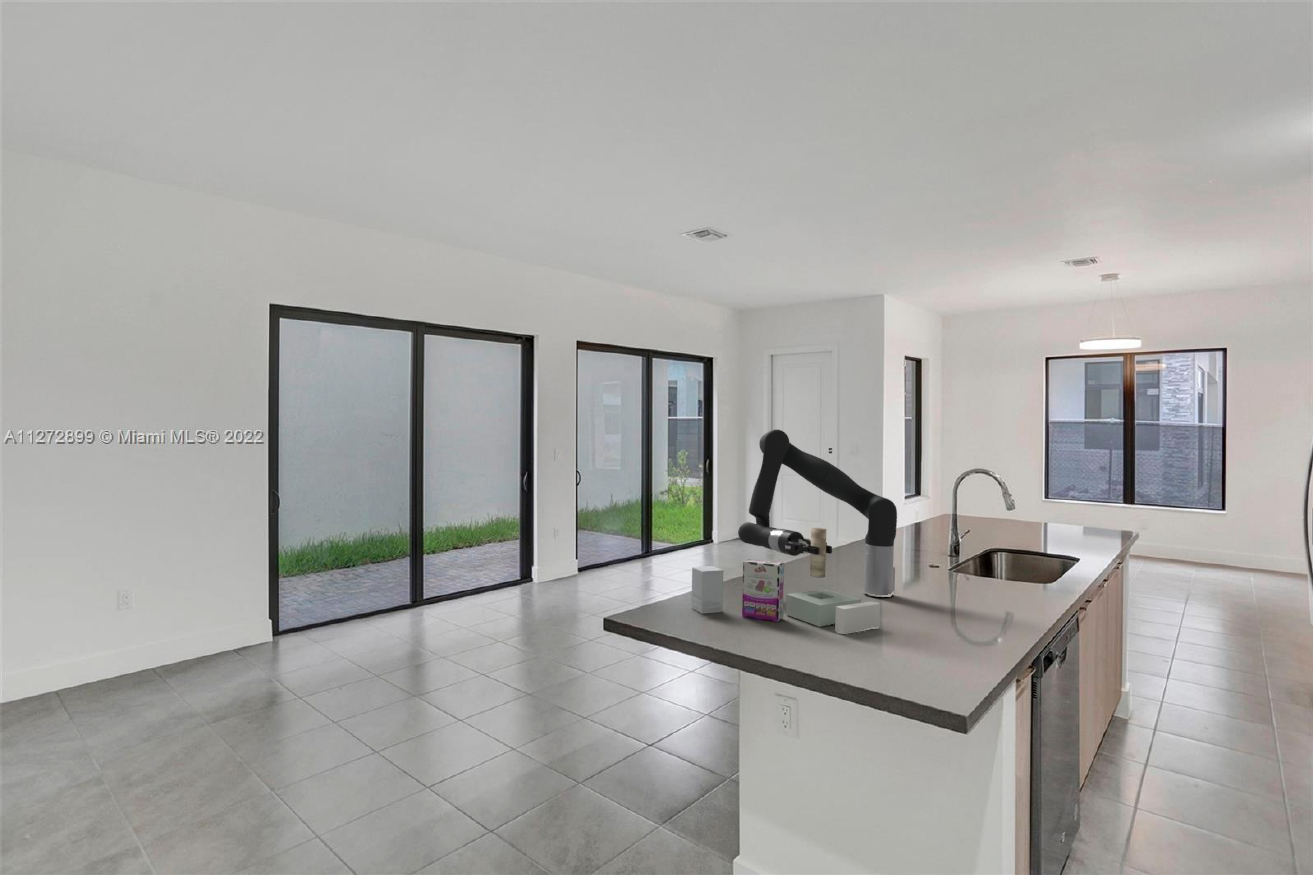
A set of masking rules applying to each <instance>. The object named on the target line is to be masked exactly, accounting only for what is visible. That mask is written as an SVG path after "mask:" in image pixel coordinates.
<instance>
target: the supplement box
mask: <svg viewBox="0 0 1313 875" xmlns="http://www.w3.org/2000/svg"><path fill="white" fill-rule="evenodd" d="M690 604H691V606H690V607H691V609H693V610H695V611H696V612H697V613H700V614H715V613H722V612H723V610H724V608H723V607H724V570H723V569H721V568H718V567H716V566H714V565H707V566H693V567H692V568H691V603H690Z"/></svg>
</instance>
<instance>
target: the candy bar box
mask: <svg viewBox="0 0 1313 875" xmlns="http://www.w3.org/2000/svg"><path fill="white" fill-rule="evenodd" d="M784 574H785V563H784V562H779V561H778V562H776V561H768V560H760V559H746V560H744V561H743V562H742V602H741V603H742V607H741V608H742V609H741V611H742V612H741V613H742V614H741V617H743V618H749V619H754V620H761V621H768V622H775V623H779V622H781V621H782V620H783V619H784V587H785V586H784V585H785V584H784V583H785V582H784V579H785V577H784V576H785V575H784ZM782 618H783V619H782ZM781 619H782V620H781Z"/></svg>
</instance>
